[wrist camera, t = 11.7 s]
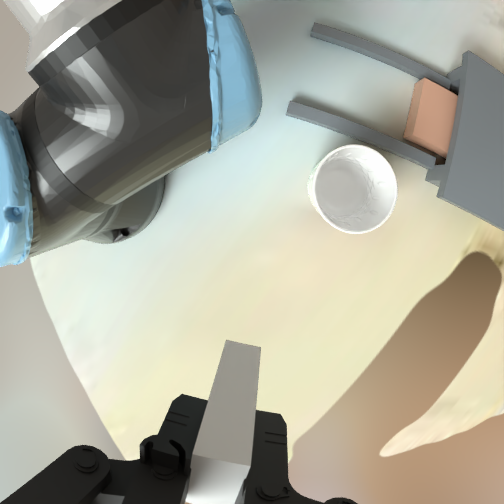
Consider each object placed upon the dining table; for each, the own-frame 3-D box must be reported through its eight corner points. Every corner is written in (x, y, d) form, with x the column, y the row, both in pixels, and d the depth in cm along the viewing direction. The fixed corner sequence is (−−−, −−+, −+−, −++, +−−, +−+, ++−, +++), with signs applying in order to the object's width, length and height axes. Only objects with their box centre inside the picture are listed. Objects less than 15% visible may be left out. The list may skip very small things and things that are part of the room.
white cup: (312, 146, 35) (325, 132, 25) (374, 166, 35) (406, 161, 25) (294, 210, 37) (302, 219, 27) (356, 228, 37) (384, 244, 27)
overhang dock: (277, 142, 35) (278, 134, 30) (319, 8, 31) (324, -14, 25) (485, 226, 35) (509, 232, 30) (508, 102, 31) (531, 96, 25)
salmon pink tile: (403, 137, 34) (412, 134, 31) (414, 83, 32) (424, 77, 29) (484, 179, 34) (496, 180, 31) (493, 129, 32) (505, 126, 29)
